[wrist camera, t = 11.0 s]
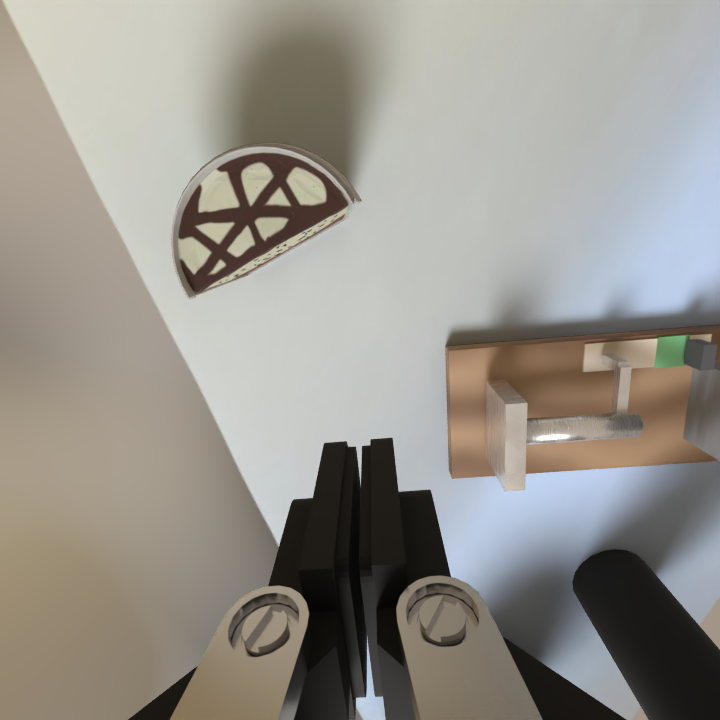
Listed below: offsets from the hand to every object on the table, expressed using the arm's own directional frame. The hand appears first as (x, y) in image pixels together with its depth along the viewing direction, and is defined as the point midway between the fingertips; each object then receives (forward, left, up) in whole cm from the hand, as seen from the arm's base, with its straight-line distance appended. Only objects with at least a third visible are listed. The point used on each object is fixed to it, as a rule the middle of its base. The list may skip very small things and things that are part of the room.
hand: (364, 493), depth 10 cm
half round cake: (-8, -6, -26) cm, 28 cm away
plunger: (+9, +15, -24) cm, 29 cm away
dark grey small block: (+5, +26, -24) cm, 36 cm away
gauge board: (+10, +19, -26) cm, 33 cm away
